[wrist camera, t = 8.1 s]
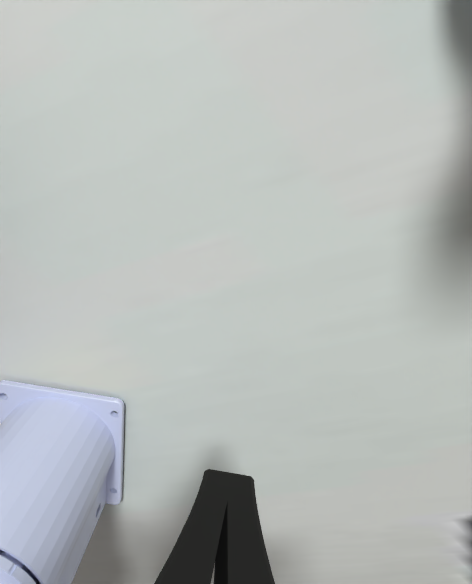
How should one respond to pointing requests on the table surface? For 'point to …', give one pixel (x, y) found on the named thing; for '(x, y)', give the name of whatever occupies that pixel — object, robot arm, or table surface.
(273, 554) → the table surface
